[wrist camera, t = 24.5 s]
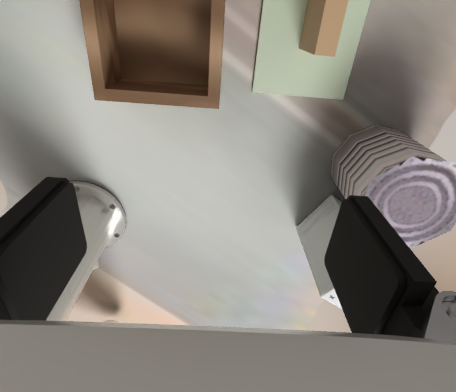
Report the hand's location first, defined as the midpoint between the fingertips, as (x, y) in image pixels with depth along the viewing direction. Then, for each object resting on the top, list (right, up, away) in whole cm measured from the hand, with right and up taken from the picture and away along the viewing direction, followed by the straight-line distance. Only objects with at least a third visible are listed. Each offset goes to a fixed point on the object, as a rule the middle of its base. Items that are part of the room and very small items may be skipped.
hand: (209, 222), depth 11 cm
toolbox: (-6, +22, +22) cm, 32 cm away
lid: (+10, +21, +23) cm, 33 cm away
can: (+21, +6, +32) cm, 39 cm away
